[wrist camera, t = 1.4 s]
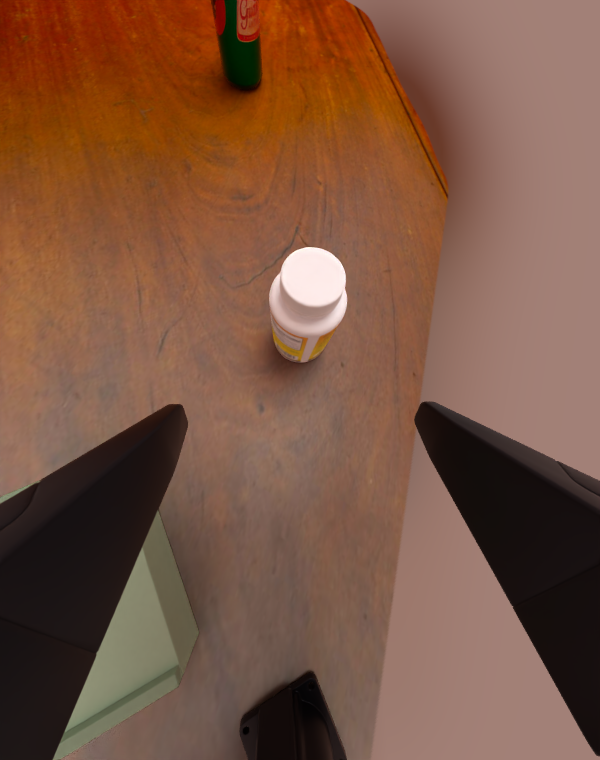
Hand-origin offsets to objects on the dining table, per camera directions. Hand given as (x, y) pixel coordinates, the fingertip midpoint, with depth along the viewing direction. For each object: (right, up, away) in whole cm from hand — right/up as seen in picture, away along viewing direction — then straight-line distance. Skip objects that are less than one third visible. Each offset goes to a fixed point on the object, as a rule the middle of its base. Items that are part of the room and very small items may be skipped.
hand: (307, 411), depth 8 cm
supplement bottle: (0, +6, +15) cm, 16 cm away
